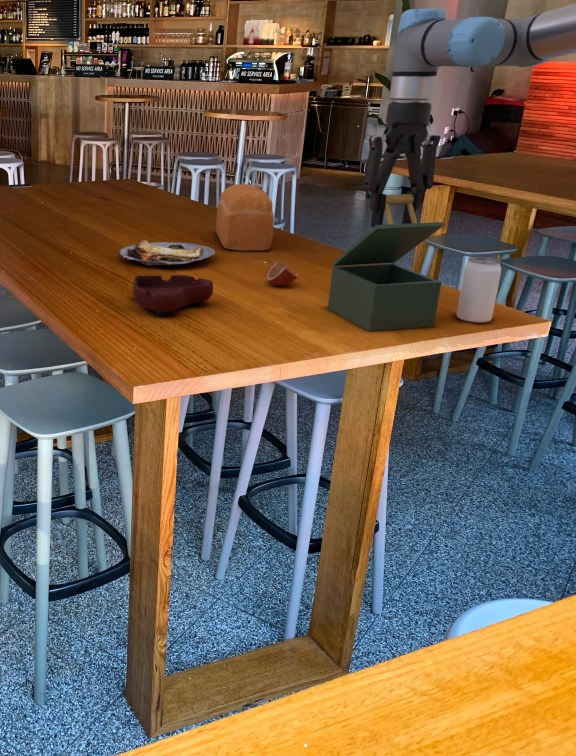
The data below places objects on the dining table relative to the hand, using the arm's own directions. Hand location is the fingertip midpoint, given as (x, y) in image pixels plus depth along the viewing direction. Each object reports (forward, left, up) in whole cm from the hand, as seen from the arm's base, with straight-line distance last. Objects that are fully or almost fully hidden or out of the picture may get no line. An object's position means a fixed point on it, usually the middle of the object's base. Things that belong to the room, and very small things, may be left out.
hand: (391, 226), depth 154 cm
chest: (0, 0, -18) cm, 18 cm away
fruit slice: (+28, +8, -19) cm, 34 cm away
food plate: (+59, +26, -19) cm, 67 cm away
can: (-5, -18, -19) cm, 26 cm away
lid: (+1, 0, -4) cm, 4 cm away
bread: (+76, -3, -19) cm, 78 cm away
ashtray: (+18, +40, -19) cm, 48 cm away
